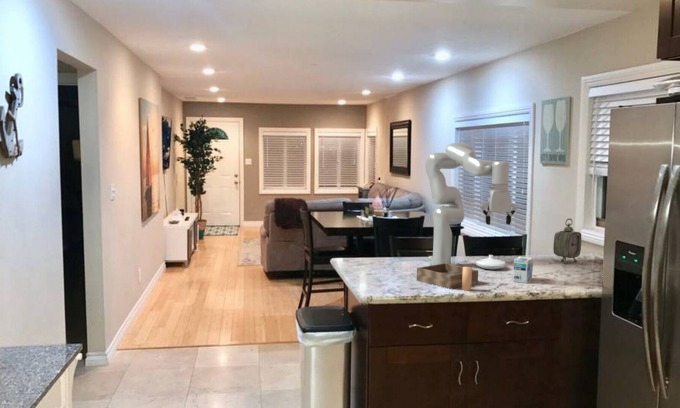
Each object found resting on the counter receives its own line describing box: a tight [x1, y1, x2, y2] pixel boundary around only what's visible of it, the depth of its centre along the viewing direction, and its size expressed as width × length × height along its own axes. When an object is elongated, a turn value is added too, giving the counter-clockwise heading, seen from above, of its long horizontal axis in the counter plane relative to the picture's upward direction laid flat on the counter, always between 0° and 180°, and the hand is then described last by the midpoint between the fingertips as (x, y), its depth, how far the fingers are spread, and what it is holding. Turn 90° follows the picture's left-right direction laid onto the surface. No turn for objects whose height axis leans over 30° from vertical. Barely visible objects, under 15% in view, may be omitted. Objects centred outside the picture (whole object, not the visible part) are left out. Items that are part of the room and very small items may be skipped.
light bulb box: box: [512, 255, 534, 284], centre depth 272 cm, size 11×7×11 cm, turn 148°
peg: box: [461, 266, 473, 292], centre depth 251 cm, size 4×4×10 cm
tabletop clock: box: [552, 217, 582, 265], centre depth 319 cm, size 14×9×25 cm, turn 129°
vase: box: [475, 254, 507, 271], centre depth 299 cm, size 16×16×7 cm
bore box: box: [416, 263, 479, 290], centre depth 266 cm, size 20×20×6 cm
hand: (498, 224), depth 266 cm, fingers open, 9 cm apart
